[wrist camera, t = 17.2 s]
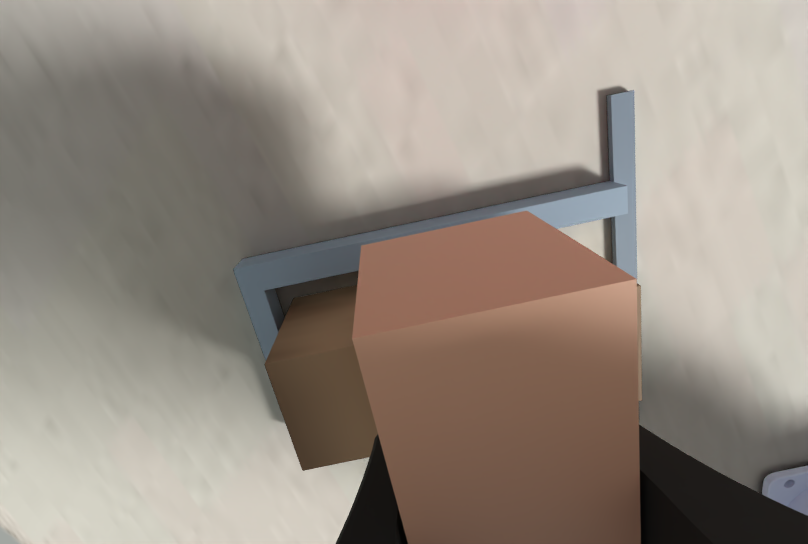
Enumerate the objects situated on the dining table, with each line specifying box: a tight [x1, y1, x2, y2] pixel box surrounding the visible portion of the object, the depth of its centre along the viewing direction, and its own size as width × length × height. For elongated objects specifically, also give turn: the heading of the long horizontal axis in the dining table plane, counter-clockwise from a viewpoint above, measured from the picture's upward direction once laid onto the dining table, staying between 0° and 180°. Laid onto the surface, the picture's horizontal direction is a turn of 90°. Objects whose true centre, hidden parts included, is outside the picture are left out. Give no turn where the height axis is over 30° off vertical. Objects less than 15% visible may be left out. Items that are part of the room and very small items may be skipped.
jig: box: [233, 90, 637, 360], centre depth 17 cm, size 15×14×1 cm
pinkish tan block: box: [352, 211, 641, 544], centre depth 10 cm, size 4×10×5 cm, turn 11°
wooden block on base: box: [264, 284, 642, 471], centre depth 16 cm, size 11×4×5 cm, turn 101°
